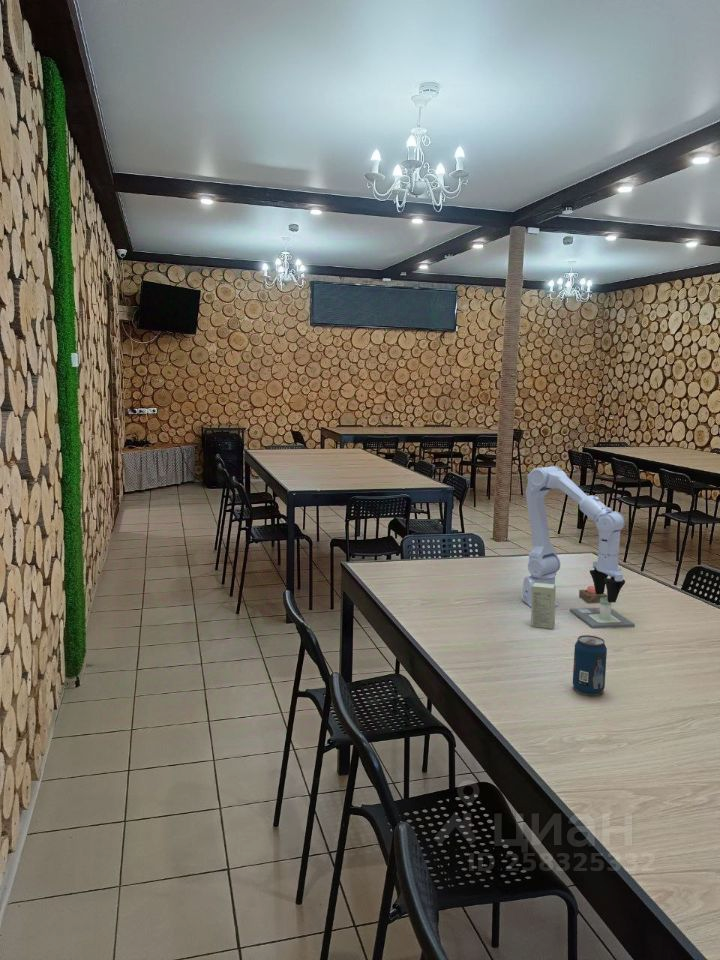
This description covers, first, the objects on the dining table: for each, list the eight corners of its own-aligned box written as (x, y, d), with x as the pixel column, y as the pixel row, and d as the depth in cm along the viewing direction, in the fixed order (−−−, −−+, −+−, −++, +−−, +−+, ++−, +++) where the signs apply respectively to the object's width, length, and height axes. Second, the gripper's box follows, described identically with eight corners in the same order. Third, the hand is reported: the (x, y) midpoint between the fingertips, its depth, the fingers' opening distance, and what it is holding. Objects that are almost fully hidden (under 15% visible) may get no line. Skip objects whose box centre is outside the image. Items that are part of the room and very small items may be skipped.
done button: (590, 598, 218) (590, 589, 218) (585, 595, 222) (585, 586, 221) (600, 598, 219) (601, 589, 218) (595, 594, 222) (595, 586, 222)
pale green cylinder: (602, 620, 198) (603, 600, 197) (597, 616, 201) (598, 597, 200) (612, 619, 199) (613, 600, 198) (606, 615, 202) (608, 596, 201)
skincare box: (554, 625, 196) (557, 584, 195) (552, 629, 192) (554, 588, 191) (532, 621, 199) (534, 581, 197) (529, 626, 195) (531, 585, 193)
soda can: (579, 680, 158) (581, 632, 157) (608, 689, 154) (611, 639, 152) (567, 690, 153) (570, 640, 152) (597, 699, 149) (600, 647, 147)
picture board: (592, 628, 194) (592, 625, 194) (569, 611, 209) (570, 608, 208) (634, 626, 195) (634, 623, 195) (609, 610, 210) (609, 607, 210)
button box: (587, 603, 217) (588, 595, 217) (579, 597, 223) (579, 589, 223) (606, 602, 218) (607, 595, 217) (597, 596, 224) (597, 589, 224)
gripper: (634, 559, 191) (630, 605, 192) (609, 547, 205) (606, 590, 207) (610, 559, 190) (607, 606, 192) (587, 547, 204) (584, 590, 206)
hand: (605, 598), depth 199 cm, fingers open, 7 cm apart
